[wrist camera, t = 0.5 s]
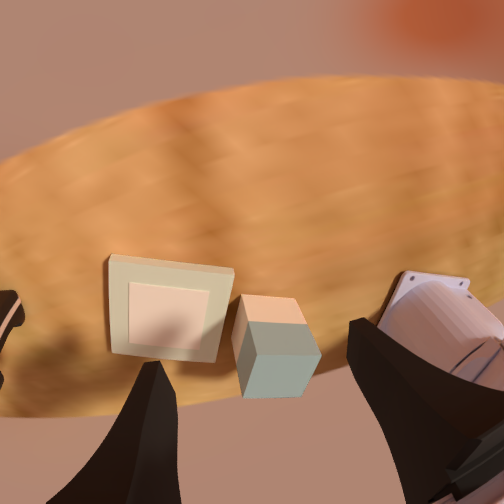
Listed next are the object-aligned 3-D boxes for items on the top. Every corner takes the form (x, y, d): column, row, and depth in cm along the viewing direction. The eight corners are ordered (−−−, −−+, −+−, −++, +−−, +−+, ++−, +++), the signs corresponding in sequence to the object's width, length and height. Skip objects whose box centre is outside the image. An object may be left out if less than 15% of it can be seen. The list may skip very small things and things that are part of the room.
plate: (233, 268, 21) (234, 276, 20) (214, 354, 25) (215, 363, 24) (111, 253, 19) (108, 261, 18) (113, 344, 23) (111, 353, 22)
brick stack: (294, 298, 23) (321, 355, 18) (280, 339, 25) (301, 397, 20) (241, 293, 22) (257, 354, 17) (231, 336, 24) (242, 398, 19)
